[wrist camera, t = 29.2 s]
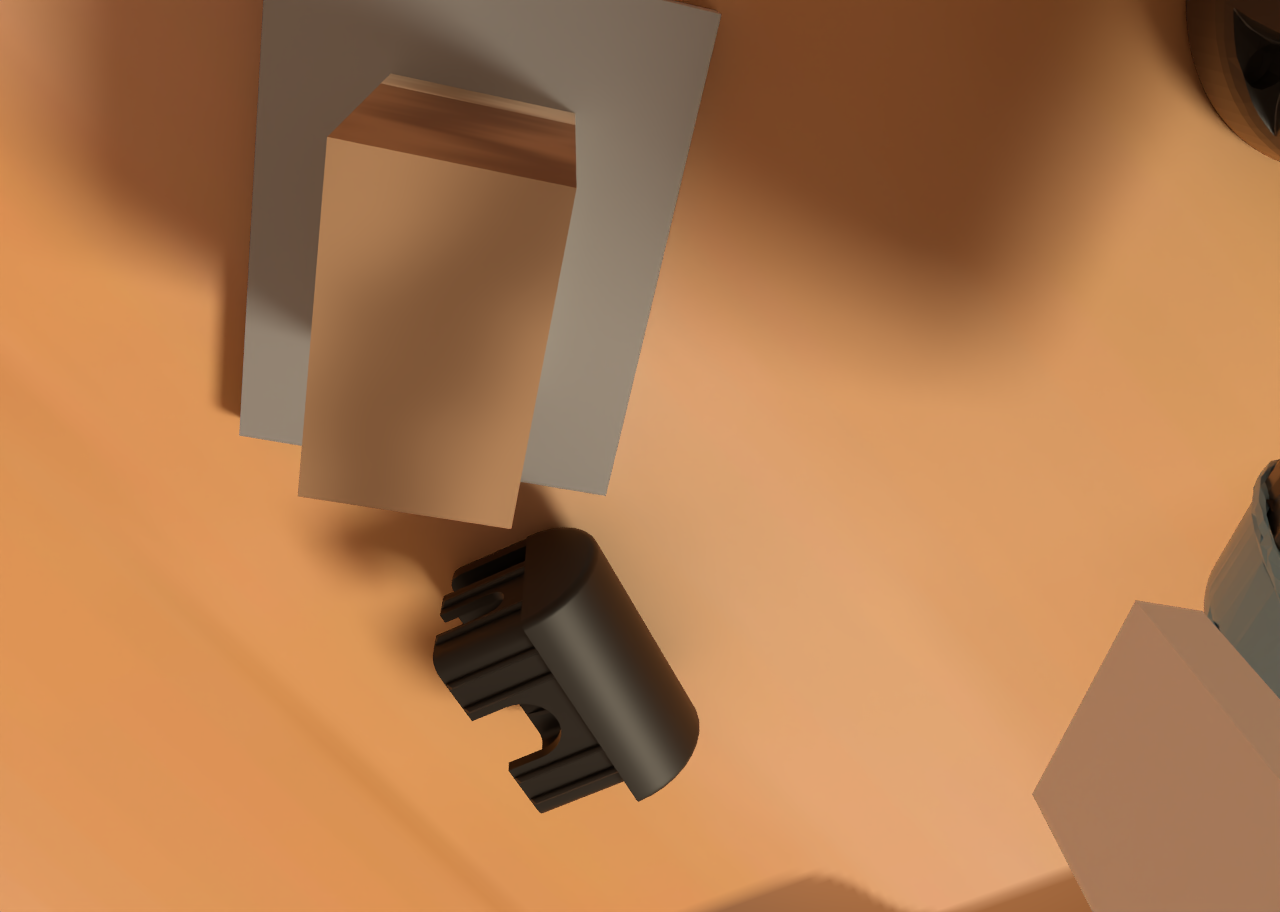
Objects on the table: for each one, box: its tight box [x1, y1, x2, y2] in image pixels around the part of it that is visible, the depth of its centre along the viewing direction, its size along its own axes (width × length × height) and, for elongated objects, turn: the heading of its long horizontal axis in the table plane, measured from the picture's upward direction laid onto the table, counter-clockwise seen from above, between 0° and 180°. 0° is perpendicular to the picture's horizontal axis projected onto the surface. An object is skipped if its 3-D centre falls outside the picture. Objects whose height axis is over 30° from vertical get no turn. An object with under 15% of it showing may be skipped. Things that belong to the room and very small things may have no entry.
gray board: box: [239, 0, 721, 496], centre depth 37 cm, size 14×18×1 cm
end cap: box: [433, 528, 699, 813], centre depth 43 cm, size 10×7×7 cm
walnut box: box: [298, 74, 577, 529], centre depth 32 cm, size 6×10×10 cm, turn 168°
